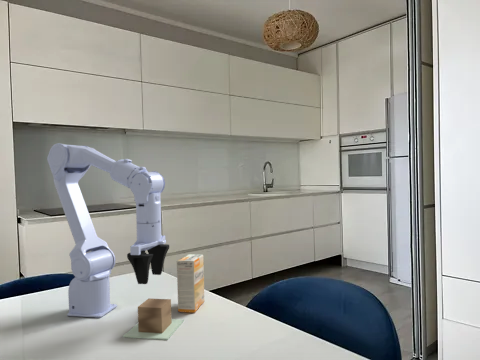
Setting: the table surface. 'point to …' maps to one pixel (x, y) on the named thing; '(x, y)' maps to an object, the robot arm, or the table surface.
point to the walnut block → (154, 315)
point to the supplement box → (190, 282)
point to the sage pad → (162, 336)
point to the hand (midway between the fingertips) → (150, 278)
